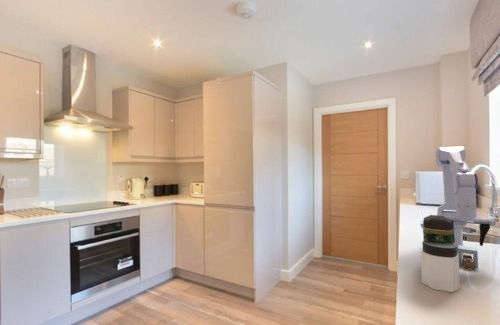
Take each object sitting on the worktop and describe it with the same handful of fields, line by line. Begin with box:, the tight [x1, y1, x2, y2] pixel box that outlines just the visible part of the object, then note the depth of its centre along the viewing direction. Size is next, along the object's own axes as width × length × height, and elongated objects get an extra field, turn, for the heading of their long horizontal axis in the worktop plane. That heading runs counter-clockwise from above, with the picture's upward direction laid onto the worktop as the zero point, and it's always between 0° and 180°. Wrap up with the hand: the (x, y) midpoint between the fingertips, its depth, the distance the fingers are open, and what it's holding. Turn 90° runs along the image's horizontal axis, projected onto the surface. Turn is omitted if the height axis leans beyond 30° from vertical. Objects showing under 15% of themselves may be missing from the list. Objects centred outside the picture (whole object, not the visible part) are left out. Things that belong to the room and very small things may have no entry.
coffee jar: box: [422, 214, 453, 244], centre depth 84 cm, size 10×8×19 cm
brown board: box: [462, 253, 475, 270], centre depth 92 cm, size 12×2×3 cm, turn 143°
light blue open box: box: [457, 245, 479, 268], centre depth 93 cm, size 5×5×6 cm
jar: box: [420, 240, 461, 294], centre depth 75 cm, size 9×8×12 cm
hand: (467, 243), depth 93 cm, fingers open, 7 cm apart
